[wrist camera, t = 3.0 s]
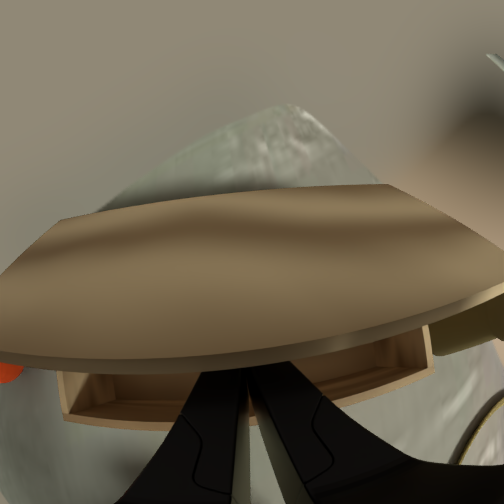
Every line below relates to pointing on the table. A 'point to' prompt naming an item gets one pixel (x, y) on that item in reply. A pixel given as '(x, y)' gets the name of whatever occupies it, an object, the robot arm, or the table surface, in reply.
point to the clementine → (9, 372)
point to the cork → (468, 327)
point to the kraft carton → (180, 385)
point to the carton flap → (239, 280)
